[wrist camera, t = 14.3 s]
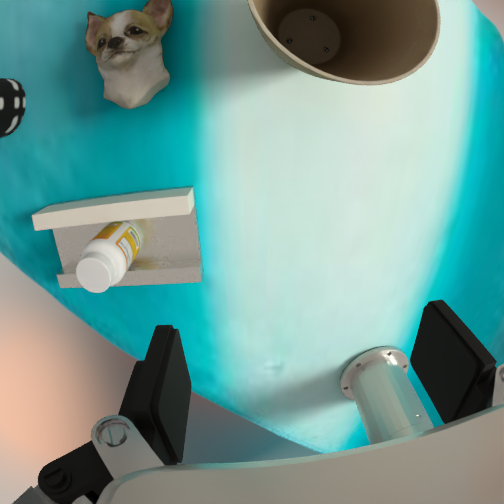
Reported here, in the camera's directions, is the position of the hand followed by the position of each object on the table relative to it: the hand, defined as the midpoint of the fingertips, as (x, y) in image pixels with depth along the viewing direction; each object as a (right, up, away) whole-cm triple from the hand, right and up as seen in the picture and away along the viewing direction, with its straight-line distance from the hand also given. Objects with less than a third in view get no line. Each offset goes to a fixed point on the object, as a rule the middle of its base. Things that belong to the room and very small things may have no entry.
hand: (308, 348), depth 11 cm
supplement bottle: (-18, +5, +27) cm, 33 cm away
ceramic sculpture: (-15, +26, +19) cm, 36 cm away
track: (-18, +5, +28) cm, 34 cm away
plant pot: (+4, +28, +19) cm, 34 cm away
